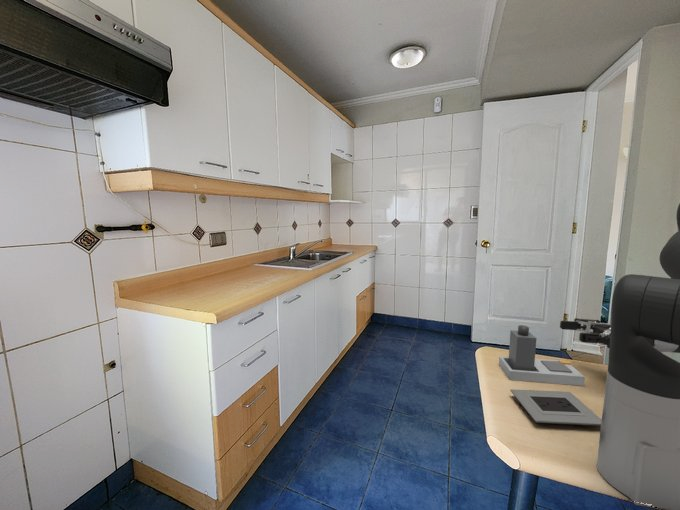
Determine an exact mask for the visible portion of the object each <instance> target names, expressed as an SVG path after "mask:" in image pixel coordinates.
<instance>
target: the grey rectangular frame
mask: <svg viewBox="0 0 680 510" xmlns="http://www.w3.org/2000/svg"><path fill="white" fill-rule="evenodd" d="M508 360H509V356H501V355H499V356H498V365H499V364H500V365H499V367H500V366H501V367H500V368H501V369H503V370H502V371H503V373H504V374H505V375H506V377H507V378H508V380H511V381H522V382H523V381H524V382H532V383H535V382H536V383H546V384H557V385H558V384H560V385H567V386H568V385H570V386H580V387H582V386H585V379H586V376H584V374H582V372H580V371H578V370H577V369H576V368H575V367H574V366H573V365H572V362H570V361H569V360H567V359H566V360H564V359H557V360H555V359H541V358H535V363H534V371H522V370H512V369H511V368H510V366H509V365H508Z"/></svg>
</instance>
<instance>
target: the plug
mask: <svg viewBox="0 0 680 510" xmlns="http://www.w3.org/2000/svg"><path fill="white" fill-rule="evenodd" d="M509 333H510V334H509V348H508V357H509V360H508V365H509V366H510V368H511V369H512V370H522V371H534V363H535V359H536V352H537V351H536V349H537V337H536V336H535V335H533V334H532V332H530V327H528V326H527V325H521V324H520V325H518V326H517V330H510V332H509Z"/></svg>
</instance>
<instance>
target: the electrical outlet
mask: <svg viewBox="0 0 680 510" xmlns="http://www.w3.org/2000/svg"><path fill="white" fill-rule="evenodd" d="M510 392H511V394H513V396H514V397H515V398H516V399H517V401H518V402H519V403H520V405H521V406H522V407H523V409H524V410H525V411H526V412H527V413H528V414H529V416H530V417H531V418H532V420H533V421H534V422H535V423H536V424H547V425H548V424H551V425H569V426H590V427H601V421H602V417H599V416H598V414H596V413H595V412H594V411H593V410H592V409H591V408H589V407H588V406H587V405H586V404H585V403H584V402H582V401H581V400H580V399H579V398H578V397H577V396H576V395H574V394H573V393H572V392H571V391H561V390H560V391H559V390H558V391H557V390H538V389H537V390H536V389H533V390H532V389H515V388H514V389H513V388H511V389H510Z"/></svg>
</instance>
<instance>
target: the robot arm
mask: <svg viewBox="0 0 680 510" xmlns="http://www.w3.org/2000/svg"><path fill="white" fill-rule="evenodd" d="M676 224H677V230H678V231H677V232H675V233H674V234H673V235H672V236H671V237H670V238H669V239H668V240H667V242H666V243H665V245H664V246H663V247H662V249H661V251H660V254H659V264H660V266H661V268H662V270H663V271H664V273H665V274H666V275H667V276H668V277H664V276H663V277H662V276H652V275H643V274H636V273H635V274H634V273H633V274H626V275H624V276H622V277H620V278H619V280H618V281H617V282H616V285H615V286H614V288H613V289H614V290H613V294H612V299H611V307H610V308H611V313H610V323H606V322H602V323H601V320H599V319H590V318H589V319H588V318H577V317H575V318H574V319H573V320H571V321H570V320H561V321H560V322H559V328H560V329H562V330H566V331H579V332H580V333H579V335H578V336H579V338H578V340H579V342H581V343H589V344H598V345H600V346H606V347H607V349H608V365H607V373H606V380H605V389H604V398H603V406H602V413H601V419H602V421H601V426H600V429H599V430H600V432H599V441H598V449H597V459H596V467H597V470H598V472H599V475H600V476H601V477H602V478H603V479H604V480H605V481H607V483H608V484H609V485H610V486H612V487H613V488H614V489H616V490H617V491H619V492H620V493H621V494H623V495H625V496H626V497H628V498H629V499H630V500H631V501H632V502H633V501H635V502H633V504H635V505H636V506H640V507H647V508H655V507H657V508H655V509H660V510H680V362H679V361H677V360H675V359H673V358H672V357H669V356H668V355H666V354H664V353H673V354H675V353H676V354H680V203H678V206H677V209H676ZM591 330H592V331H591ZM636 502H639V503H636ZM641 502H642V503H644V504H646V503H647V504H652V505H651V506H654V507H651V506H647V505H644V504H640V503H641Z"/></svg>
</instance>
